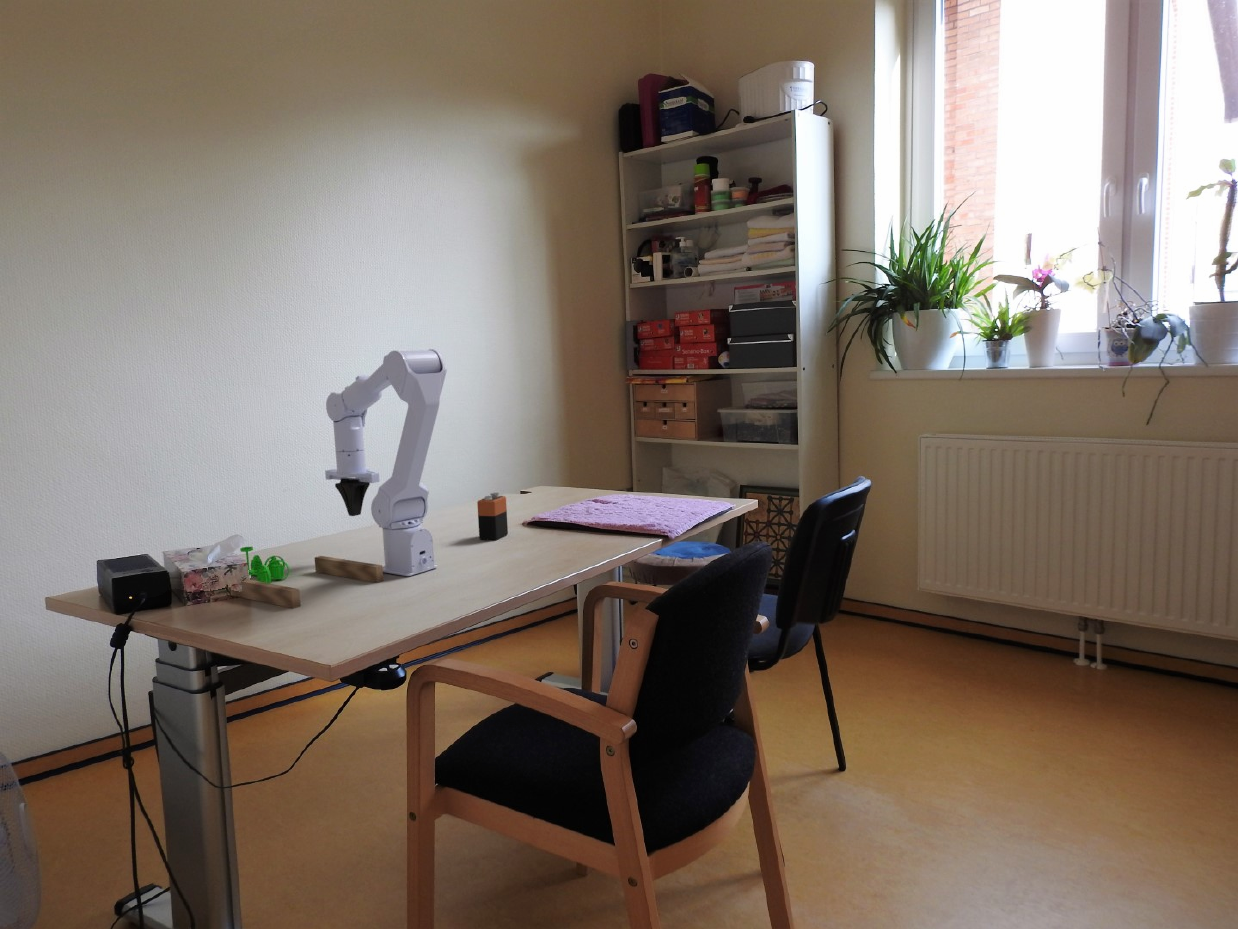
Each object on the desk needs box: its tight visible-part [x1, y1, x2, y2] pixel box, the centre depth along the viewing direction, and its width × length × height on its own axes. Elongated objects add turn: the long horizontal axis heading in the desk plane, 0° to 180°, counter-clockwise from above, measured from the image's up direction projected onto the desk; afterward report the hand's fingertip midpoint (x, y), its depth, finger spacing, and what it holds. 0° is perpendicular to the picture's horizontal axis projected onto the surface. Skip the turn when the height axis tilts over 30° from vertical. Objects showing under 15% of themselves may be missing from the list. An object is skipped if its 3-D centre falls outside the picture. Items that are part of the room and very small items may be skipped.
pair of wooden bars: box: [230, 555, 384, 609], centre depth 167 cm, size 18×20×3 cm
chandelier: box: [240, 546, 290, 584], centre depth 173 cm, size 15×15×7 cm
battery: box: [476, 492, 509, 542], centre depth 205 cm, size 4×7×10 cm, turn 162°
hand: (354, 515), depth 188 cm, fingers closed
